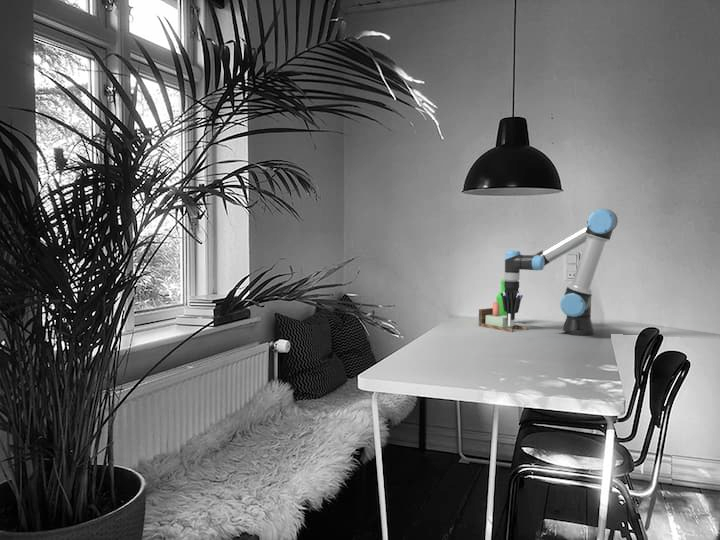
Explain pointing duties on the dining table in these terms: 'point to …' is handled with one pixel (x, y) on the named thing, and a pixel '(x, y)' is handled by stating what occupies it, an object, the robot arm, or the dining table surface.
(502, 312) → the bottle
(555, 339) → the dining table surface
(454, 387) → the dining table surface
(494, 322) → the socket block
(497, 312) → the dowel
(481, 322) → the channel board
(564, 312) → the robot arm
